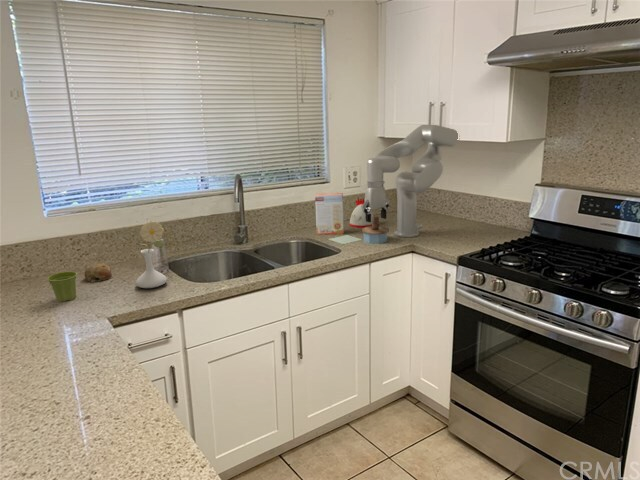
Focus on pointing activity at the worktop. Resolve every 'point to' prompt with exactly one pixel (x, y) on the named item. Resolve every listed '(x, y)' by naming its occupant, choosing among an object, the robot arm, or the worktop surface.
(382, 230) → the lid
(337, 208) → the cracker box
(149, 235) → the flower in vase
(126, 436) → the worktop surface
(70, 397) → the worktop surface
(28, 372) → the worktop surface
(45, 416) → the worktop surface
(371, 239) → the bowl
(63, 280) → the plant pot
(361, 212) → the kitchen timer
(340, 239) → the mat
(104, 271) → the bread roll
